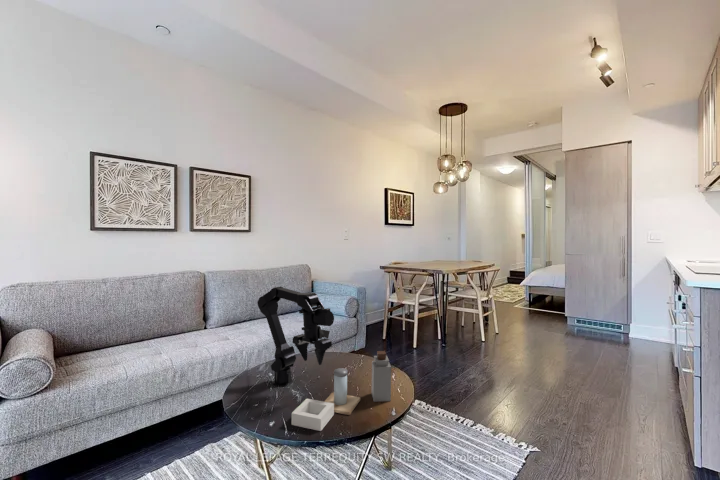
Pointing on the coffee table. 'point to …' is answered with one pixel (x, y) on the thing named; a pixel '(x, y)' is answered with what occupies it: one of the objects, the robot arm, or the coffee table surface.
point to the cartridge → (340, 386)
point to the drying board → (345, 408)
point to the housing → (312, 421)
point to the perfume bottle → (381, 377)
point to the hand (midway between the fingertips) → (312, 362)
